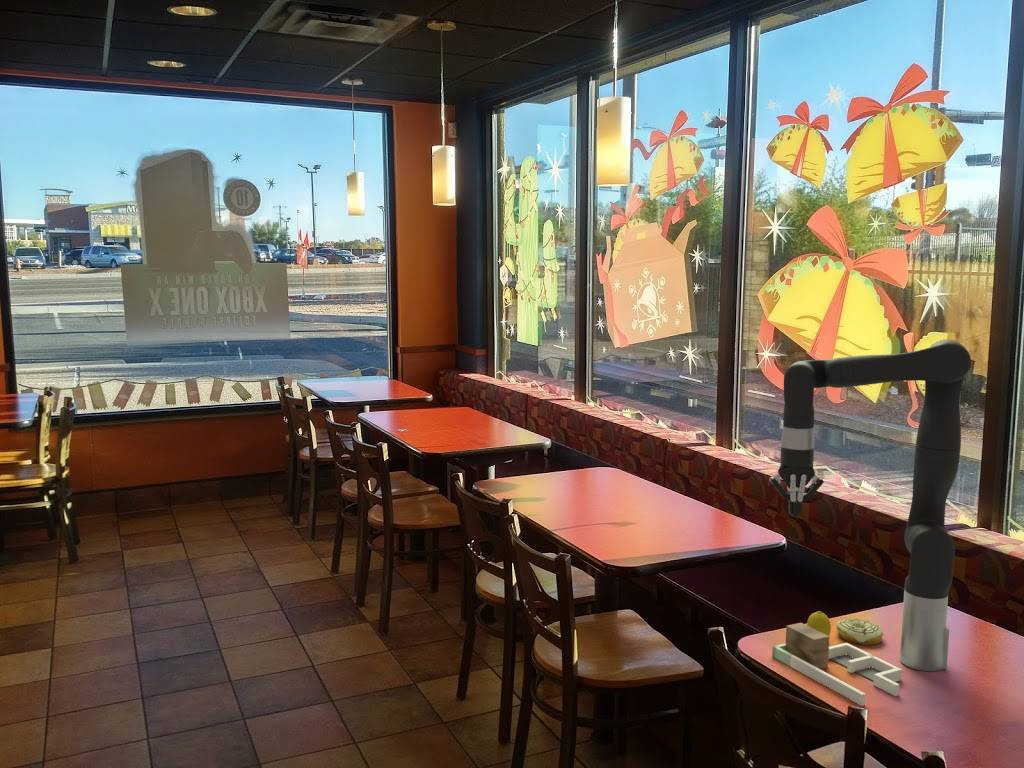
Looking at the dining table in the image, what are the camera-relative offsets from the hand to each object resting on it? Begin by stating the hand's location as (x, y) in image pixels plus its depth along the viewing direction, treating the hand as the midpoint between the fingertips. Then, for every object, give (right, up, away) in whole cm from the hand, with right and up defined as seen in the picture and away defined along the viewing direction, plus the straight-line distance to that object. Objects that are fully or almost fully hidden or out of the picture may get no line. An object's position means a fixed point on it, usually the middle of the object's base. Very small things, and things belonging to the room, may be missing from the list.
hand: (794, 515), depth 217 cm
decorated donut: (+18, -32, +7) cm, 37 cm away
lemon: (+7, -32, +4) cm, 33 cm away
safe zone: (0, -33, -5) cm, 33 cm away
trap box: (+8, -34, -15) cm, 38 cm away
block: (+1, -33, -7) cm, 34 cm away
